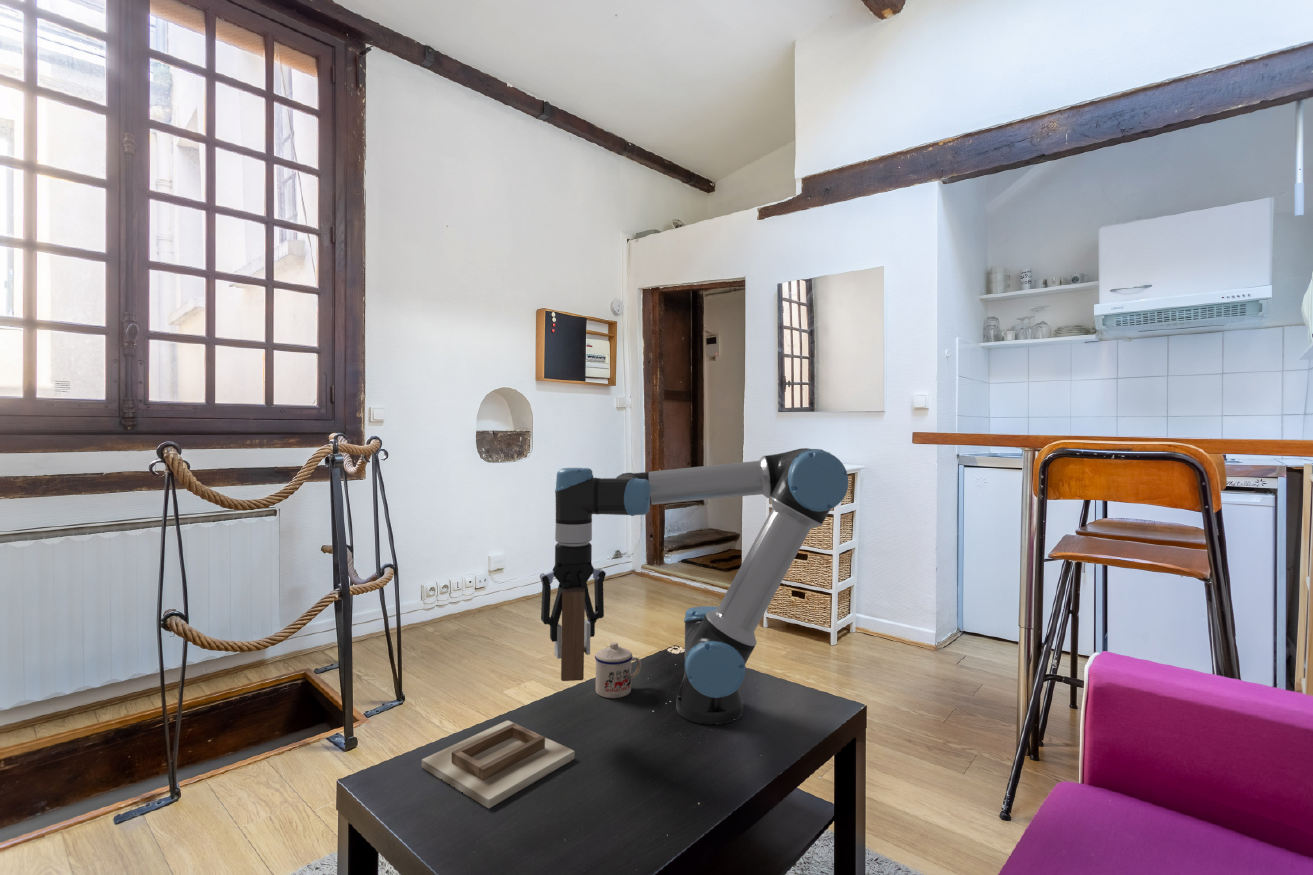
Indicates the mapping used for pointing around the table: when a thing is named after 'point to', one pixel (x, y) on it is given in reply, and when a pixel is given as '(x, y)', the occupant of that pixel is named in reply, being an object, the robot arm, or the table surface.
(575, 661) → the wooden block
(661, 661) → the table surface
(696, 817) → the table surface
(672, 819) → the table surface
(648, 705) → the table surface
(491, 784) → the keyed plate
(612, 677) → the teacup with lid
